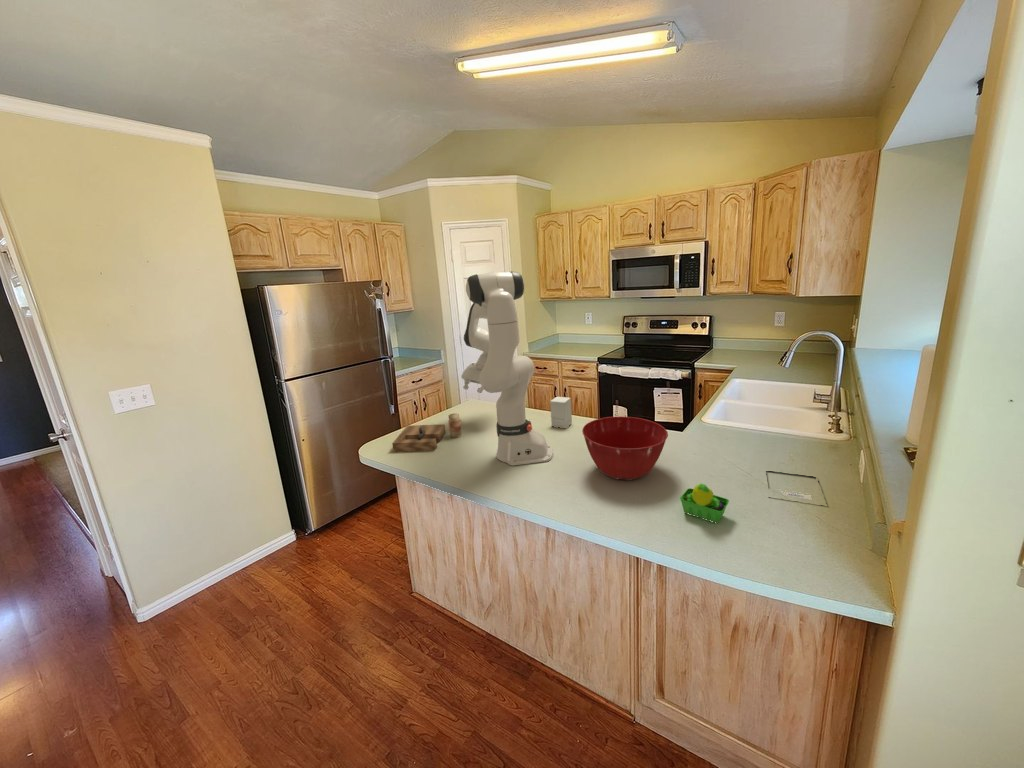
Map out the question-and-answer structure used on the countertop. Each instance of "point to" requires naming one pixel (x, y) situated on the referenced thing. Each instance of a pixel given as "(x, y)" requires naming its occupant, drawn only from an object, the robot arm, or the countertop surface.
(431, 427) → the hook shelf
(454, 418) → the cord spool
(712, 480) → the countertop surface
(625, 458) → the mixing bowl
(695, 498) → the fruit basket
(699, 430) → the countertop surface
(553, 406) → the supplement box
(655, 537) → the countertop surface
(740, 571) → the countertop surface
